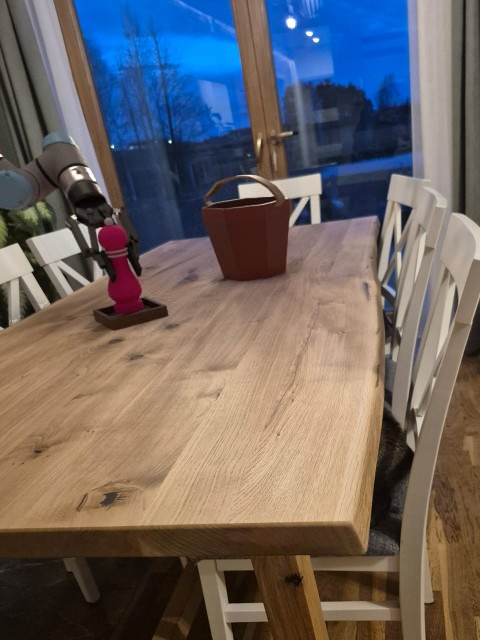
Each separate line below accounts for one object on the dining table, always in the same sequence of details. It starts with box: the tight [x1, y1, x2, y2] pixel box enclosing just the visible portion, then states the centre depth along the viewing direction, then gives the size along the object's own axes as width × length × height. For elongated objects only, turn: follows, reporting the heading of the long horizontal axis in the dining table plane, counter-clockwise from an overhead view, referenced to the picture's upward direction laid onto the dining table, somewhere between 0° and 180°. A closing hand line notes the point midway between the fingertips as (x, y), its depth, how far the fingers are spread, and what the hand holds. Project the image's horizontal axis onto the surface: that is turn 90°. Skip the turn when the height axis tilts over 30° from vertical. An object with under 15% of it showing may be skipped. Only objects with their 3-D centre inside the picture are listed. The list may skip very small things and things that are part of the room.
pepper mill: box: [97, 218, 144, 314], centre depth 125 cm, size 7×7×20 cm
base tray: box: [92, 296, 169, 331], centre depth 130 cm, size 13×13×2 cm
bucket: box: [200, 174, 291, 282], centre depth 153 cm, size 24×22×25 cm
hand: (127, 275), depth 123 cm, fingers closed on pepper mill, 5 cm apart
